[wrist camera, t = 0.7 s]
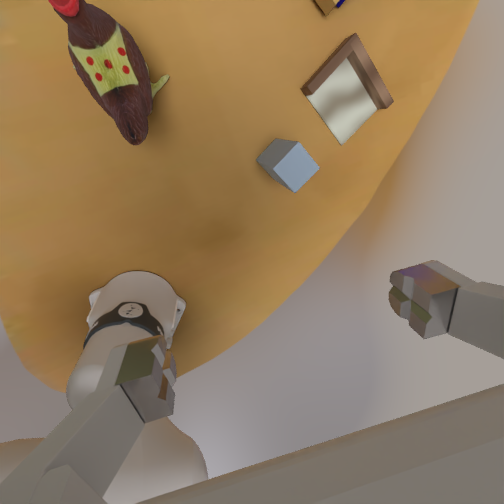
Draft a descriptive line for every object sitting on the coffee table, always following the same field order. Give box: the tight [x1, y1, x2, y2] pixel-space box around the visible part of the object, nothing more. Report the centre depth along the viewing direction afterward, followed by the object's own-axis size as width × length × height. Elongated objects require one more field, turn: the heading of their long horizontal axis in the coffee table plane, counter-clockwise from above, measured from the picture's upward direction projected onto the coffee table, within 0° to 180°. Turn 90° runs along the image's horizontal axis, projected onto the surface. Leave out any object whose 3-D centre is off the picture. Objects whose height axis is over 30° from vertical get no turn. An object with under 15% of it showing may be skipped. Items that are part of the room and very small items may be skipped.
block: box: [256, 139, 320, 193], centre depth 42 cm, size 5×5×12 cm
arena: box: [301, 33, 394, 145], centre depth 44 cm, size 12×10×3 cm
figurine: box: [48, 0, 169, 145], centre depth 30 cm, size 11×15×20 cm
